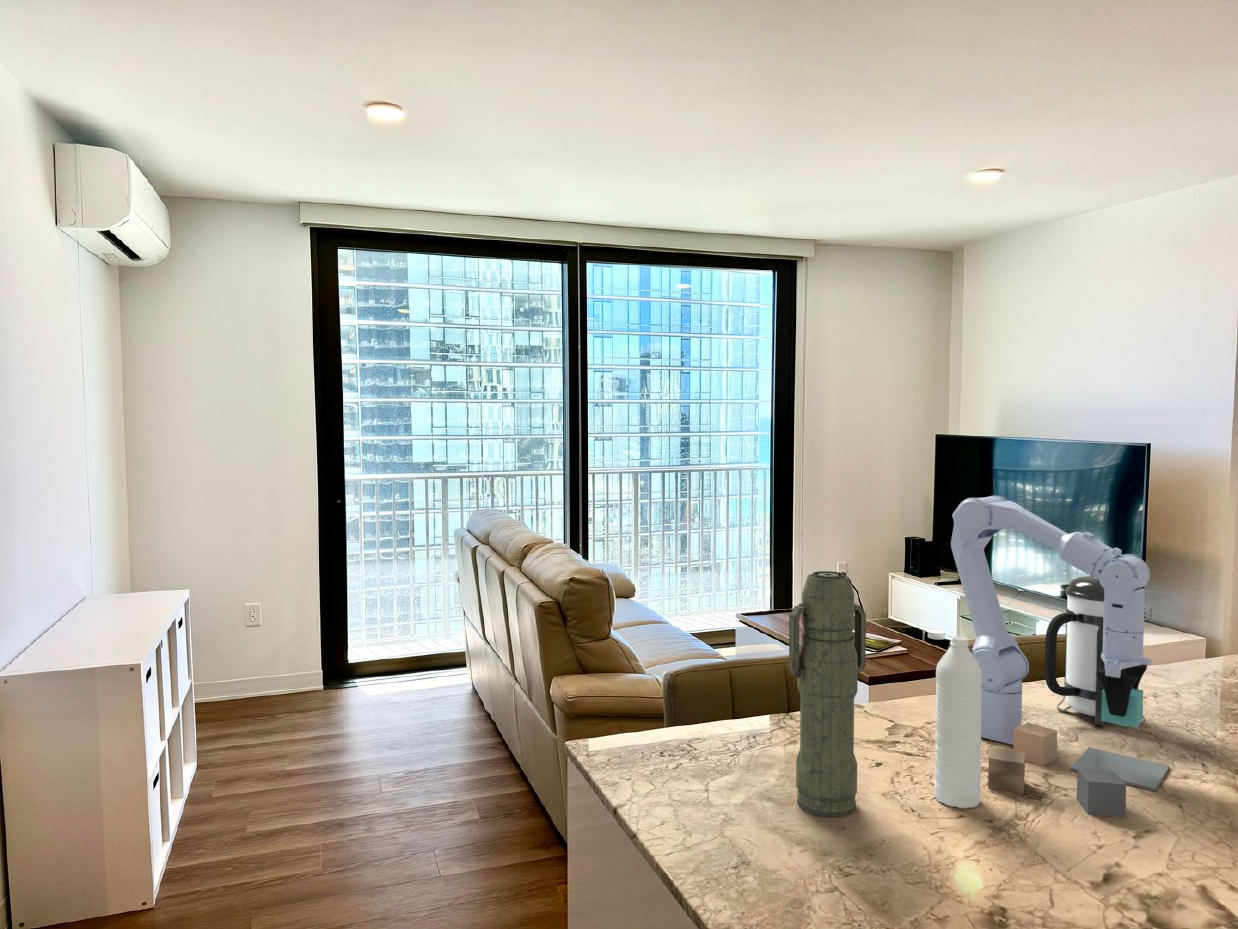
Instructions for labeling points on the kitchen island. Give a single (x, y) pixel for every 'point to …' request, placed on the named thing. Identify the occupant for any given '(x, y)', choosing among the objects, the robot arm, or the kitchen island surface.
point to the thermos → (827, 692)
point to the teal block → (1133, 710)
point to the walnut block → (1006, 770)
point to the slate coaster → (1124, 767)
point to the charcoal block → (1101, 792)
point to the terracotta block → (1036, 743)
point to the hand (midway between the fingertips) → (1121, 710)
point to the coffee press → (1079, 648)
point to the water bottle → (957, 725)
